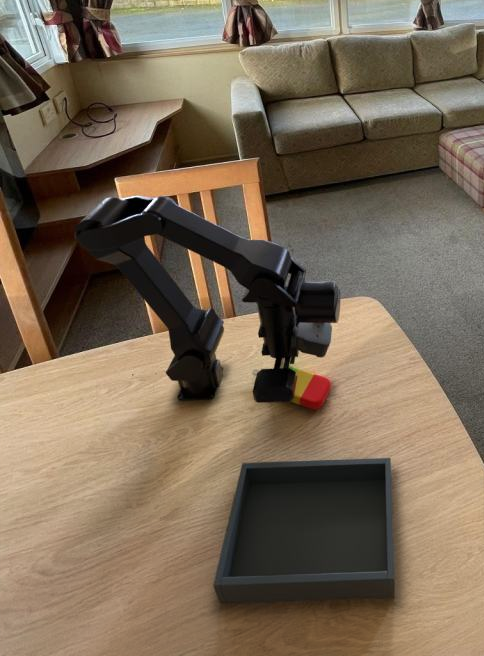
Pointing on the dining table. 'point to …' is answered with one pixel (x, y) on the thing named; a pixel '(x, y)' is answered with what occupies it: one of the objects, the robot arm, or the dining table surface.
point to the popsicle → (309, 388)
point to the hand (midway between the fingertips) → (288, 381)
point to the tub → (309, 533)
